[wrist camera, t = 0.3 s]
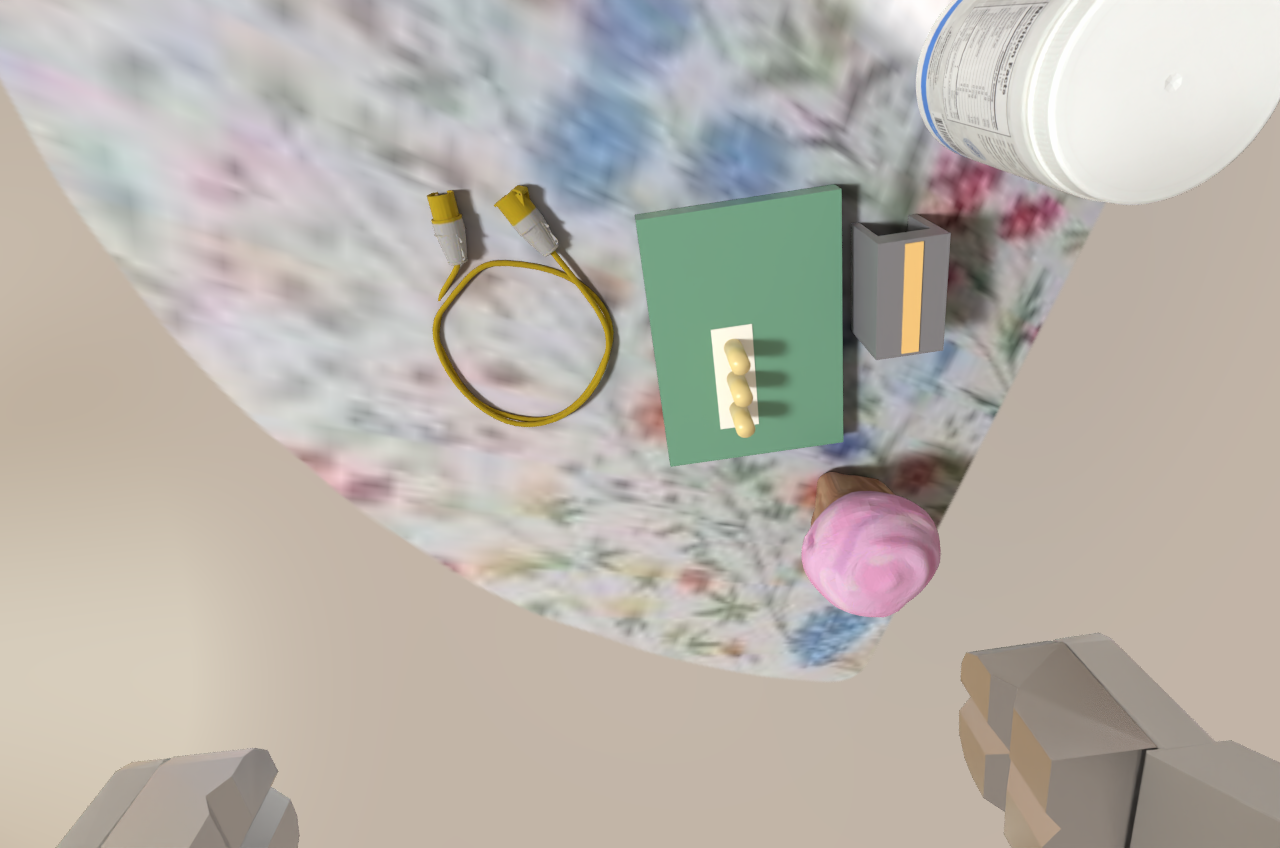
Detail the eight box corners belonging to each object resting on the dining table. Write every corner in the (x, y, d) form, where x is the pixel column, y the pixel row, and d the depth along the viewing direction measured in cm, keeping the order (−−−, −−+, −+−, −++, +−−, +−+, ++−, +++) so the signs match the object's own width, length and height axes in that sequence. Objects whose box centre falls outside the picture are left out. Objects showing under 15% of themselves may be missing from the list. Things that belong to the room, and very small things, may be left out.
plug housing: (850, 223, 44) (878, 244, 40) (916, 213, 44) (951, 233, 39) (850, 330, 47) (876, 360, 43) (911, 321, 47) (943, 351, 43)
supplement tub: (1105, -30, 38) (1361, -65, 25) (1052, 159, 43) (1248, 211, 30) (926, -36, 38) (1094, -74, 25) (892, 156, 42) (1019, 208, 29)
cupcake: (917, 455, 52) (980, 539, 43) (879, 550, 56) (930, 645, 47) (798, 440, 51) (839, 524, 42) (769, 538, 55) (800, 633, 46)
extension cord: (638, 204, 43) (640, 211, 42) (595, 430, 51) (595, 444, 49) (433, 164, 42) (425, 170, 40) (418, 403, 49) (411, 417, 47)
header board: (634, 214, 43) (637, 232, 39) (834, 184, 43) (857, 199, 39) (668, 455, 51) (674, 490, 47) (836, 431, 51) (856, 464, 47)
